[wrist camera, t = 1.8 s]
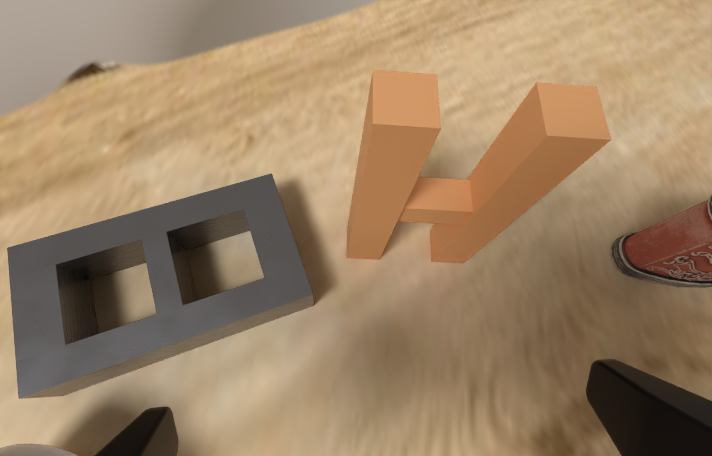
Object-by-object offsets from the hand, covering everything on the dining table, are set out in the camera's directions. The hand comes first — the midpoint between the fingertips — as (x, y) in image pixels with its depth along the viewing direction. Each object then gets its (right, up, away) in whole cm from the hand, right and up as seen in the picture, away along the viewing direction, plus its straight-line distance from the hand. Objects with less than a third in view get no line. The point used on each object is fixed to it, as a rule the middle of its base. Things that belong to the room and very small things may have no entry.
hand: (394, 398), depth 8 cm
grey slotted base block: (-11, 0, +14) cm, 17 cm away
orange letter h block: (+2, +3, +16) cm, 16 cm away
